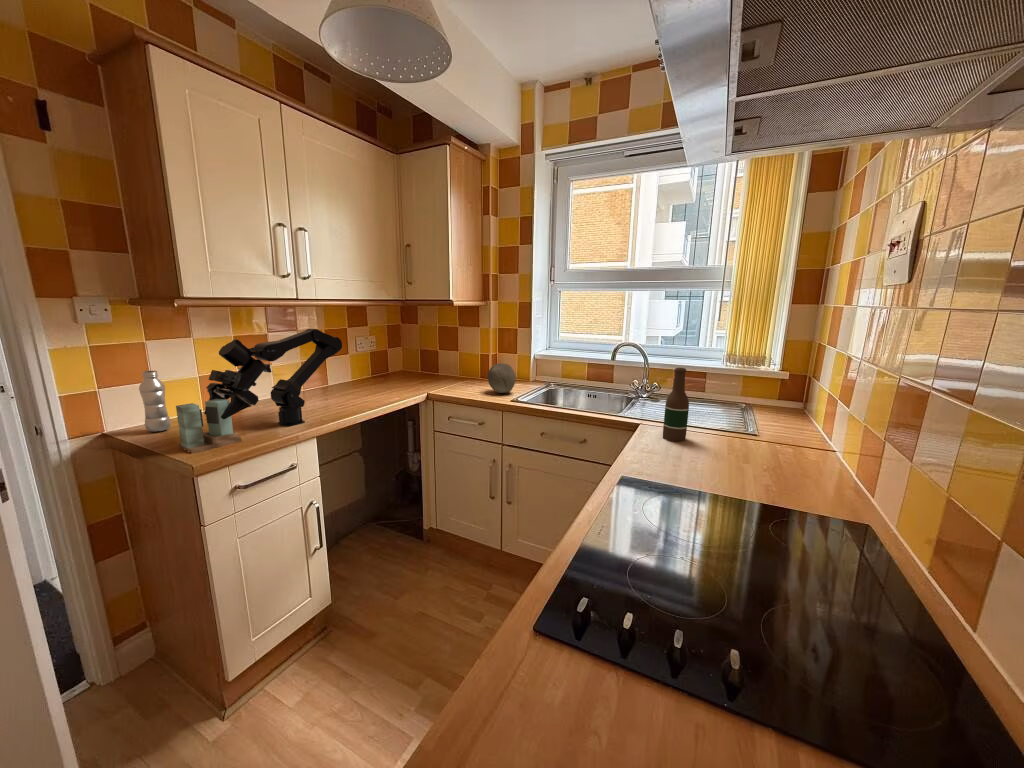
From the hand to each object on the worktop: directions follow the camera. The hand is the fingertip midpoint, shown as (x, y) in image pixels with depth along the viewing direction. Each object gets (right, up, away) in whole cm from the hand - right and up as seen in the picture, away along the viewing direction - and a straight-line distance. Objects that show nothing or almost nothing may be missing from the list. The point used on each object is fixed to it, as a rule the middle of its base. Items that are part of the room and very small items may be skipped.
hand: (213, 416), depth 123 cm
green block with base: (-1, -8, 0) cm, 8 cm away
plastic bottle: (-27, -6, +12) cm, 30 cm away
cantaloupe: (+85, +5, +78) cm, 116 cm away
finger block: (0, -7, +3) cm, 7 cm away
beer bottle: (+145, -9, +14) cm, 146 cm away
